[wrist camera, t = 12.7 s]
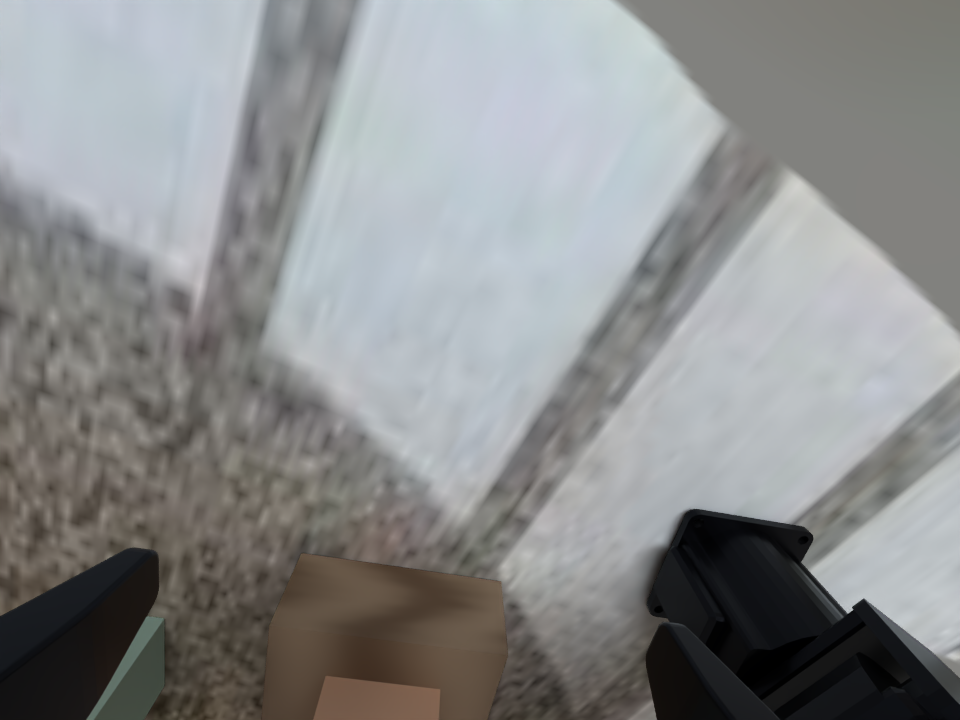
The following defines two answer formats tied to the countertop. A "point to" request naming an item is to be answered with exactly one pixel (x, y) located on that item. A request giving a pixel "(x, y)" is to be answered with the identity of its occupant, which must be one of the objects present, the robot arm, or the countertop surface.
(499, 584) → the walnut block
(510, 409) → the countertop surface
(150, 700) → the sage green cube
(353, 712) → the terracotta cube
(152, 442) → the countertop surface
